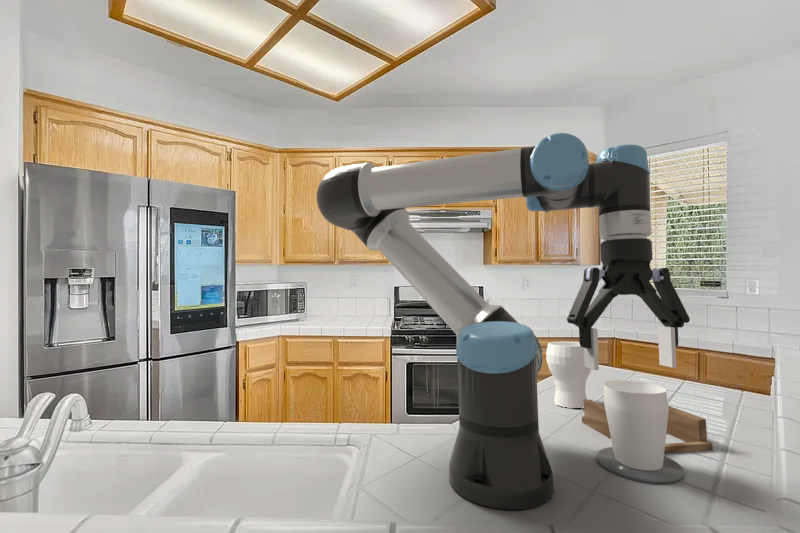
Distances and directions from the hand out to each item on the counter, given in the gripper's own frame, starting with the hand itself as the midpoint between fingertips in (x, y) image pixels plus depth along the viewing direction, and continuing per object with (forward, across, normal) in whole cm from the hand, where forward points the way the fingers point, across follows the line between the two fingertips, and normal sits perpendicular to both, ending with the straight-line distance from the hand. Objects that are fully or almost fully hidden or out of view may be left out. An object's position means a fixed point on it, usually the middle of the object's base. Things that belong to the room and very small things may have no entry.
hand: (630, 367), depth 63 cm
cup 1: (+16, +8, +33) cm, 37 cm away
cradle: (+16, +10, +12) cm, 22 cm away
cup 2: (+15, 0, 0) cm, 15 cm away
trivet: (+16, 0, 0) cm, 16 cm away
